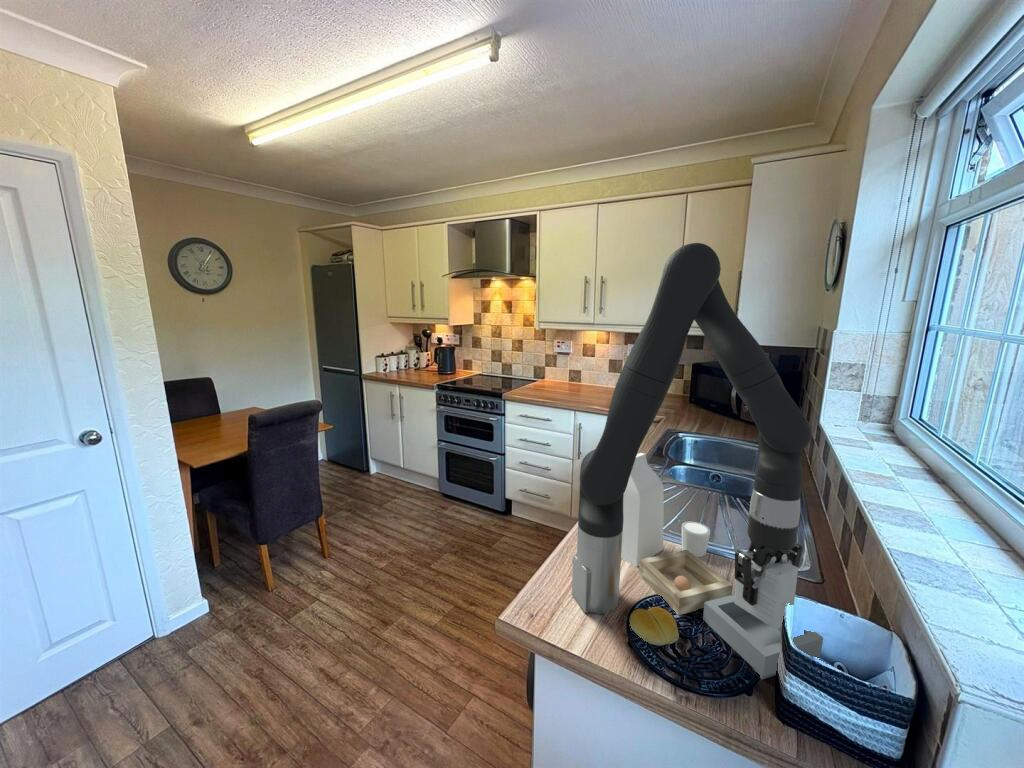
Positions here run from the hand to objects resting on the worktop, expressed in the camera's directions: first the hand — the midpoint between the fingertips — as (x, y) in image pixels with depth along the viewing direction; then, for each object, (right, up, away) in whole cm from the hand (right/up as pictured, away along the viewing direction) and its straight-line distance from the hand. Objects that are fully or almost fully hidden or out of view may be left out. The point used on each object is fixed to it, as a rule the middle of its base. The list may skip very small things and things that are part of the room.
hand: (763, 598), depth 75 cm
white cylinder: (0, -4, +29) cm, 30 cm away
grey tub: (0, -9, +1) cm, 9 cm away
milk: (-16, -4, +31) cm, 35 cm away
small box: (0, -3, 0) cm, 3 cm away
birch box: (-9, -6, +15) cm, 19 cm away
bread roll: (-19, -9, +4) cm, 22 cm away
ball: (-9, -6, +14) cm, 18 cm away
